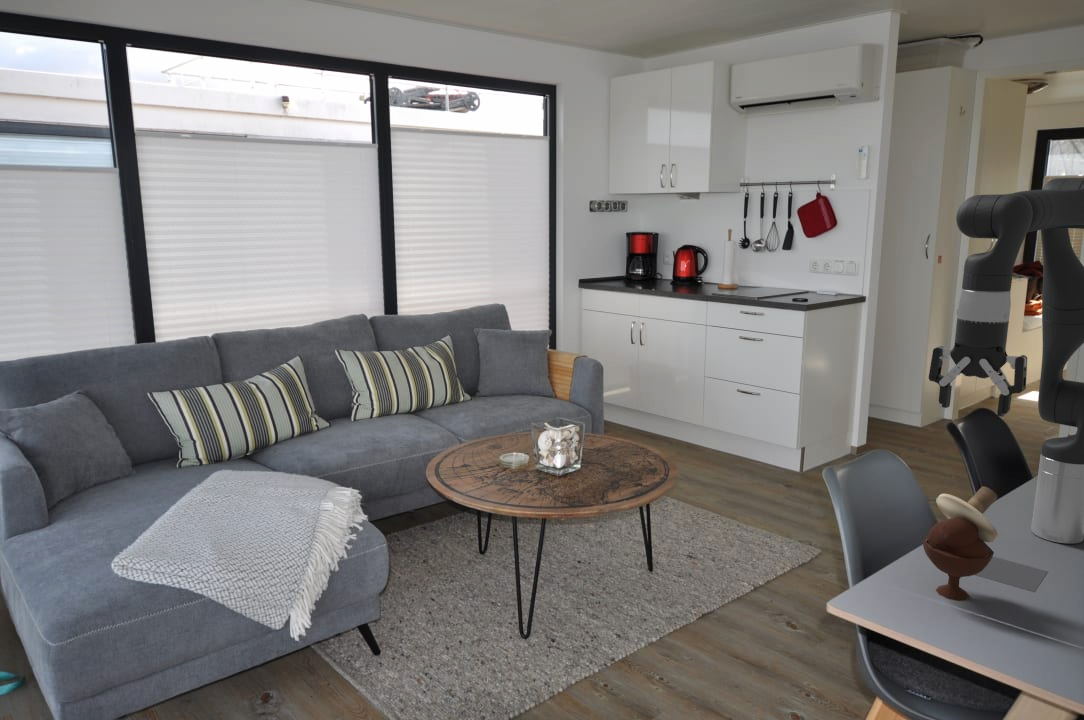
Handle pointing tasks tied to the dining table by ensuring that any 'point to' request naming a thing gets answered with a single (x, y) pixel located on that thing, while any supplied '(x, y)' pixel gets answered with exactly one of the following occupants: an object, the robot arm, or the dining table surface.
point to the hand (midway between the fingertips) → (972, 411)
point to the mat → (1013, 574)
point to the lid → (971, 511)
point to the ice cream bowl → (956, 553)
